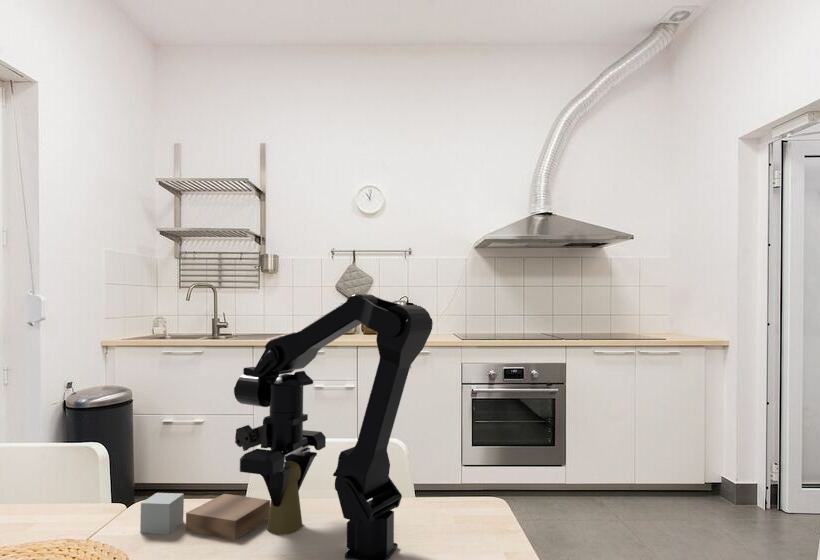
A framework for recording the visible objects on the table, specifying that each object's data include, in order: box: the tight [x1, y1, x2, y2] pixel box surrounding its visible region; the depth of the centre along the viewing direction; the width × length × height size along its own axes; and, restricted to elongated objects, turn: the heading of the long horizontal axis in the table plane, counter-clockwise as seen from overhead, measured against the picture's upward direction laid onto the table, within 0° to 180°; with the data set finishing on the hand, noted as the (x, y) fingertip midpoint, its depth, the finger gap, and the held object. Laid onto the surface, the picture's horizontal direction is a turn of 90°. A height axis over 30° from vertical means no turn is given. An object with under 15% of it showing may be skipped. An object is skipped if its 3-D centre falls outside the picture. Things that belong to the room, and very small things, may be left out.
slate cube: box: [139, 492, 185, 535], centre depth 95 cm, size 5×5×5 cm
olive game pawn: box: [266, 461, 304, 536], centre depth 95 cm, size 6×6×11 cm
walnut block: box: [185, 493, 271, 540], centre depth 96 cm, size 10×10×3 cm
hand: (285, 500), depth 95 cm, fingers open, 5 cm apart
